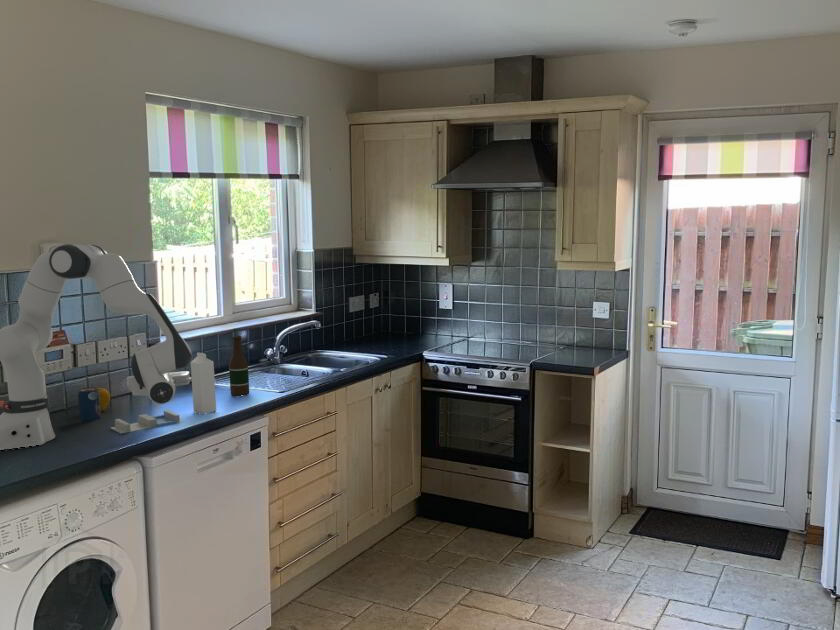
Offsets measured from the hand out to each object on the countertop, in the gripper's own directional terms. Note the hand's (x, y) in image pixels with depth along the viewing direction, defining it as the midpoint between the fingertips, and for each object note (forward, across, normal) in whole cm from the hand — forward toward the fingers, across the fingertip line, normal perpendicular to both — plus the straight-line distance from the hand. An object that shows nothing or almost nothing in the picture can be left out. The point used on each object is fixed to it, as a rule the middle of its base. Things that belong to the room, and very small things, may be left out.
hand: (158, 376), depth 274 cm
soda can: (+17, +24, +18) cm, 34 cm away
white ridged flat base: (-2, +5, +18) cm, 18 cm away
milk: (+14, -16, +18) cm, 28 cm away
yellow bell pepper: (+34, +21, +18) cm, 43 cm away
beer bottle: (+38, -32, +18) cm, 52 cm away
